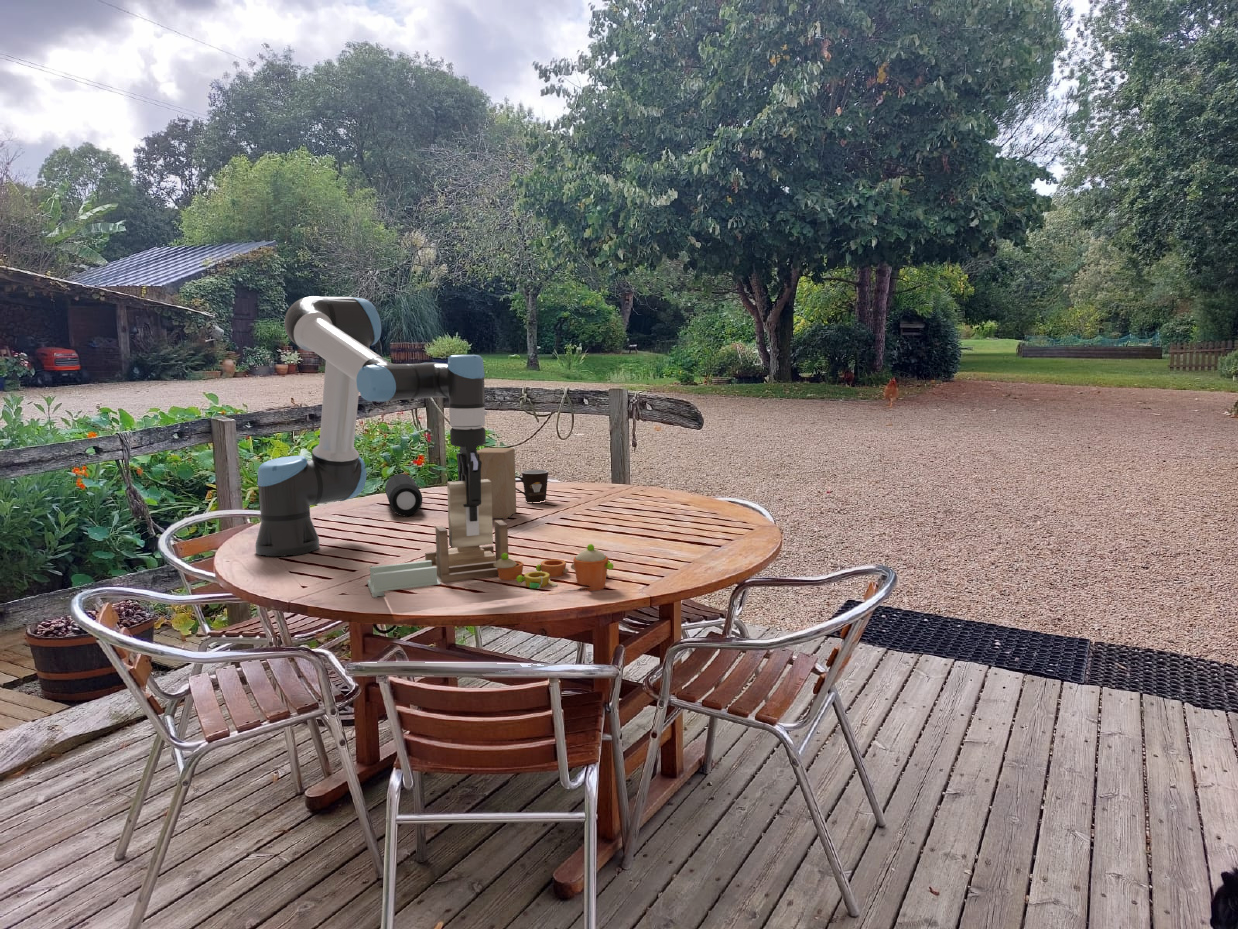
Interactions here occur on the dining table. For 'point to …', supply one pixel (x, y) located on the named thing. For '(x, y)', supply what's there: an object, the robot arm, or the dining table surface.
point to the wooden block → (500, 479)
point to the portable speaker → (403, 495)
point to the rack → (467, 556)
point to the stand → (401, 576)
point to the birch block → (459, 515)
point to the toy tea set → (559, 570)
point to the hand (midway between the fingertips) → (470, 532)
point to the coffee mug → (534, 485)
